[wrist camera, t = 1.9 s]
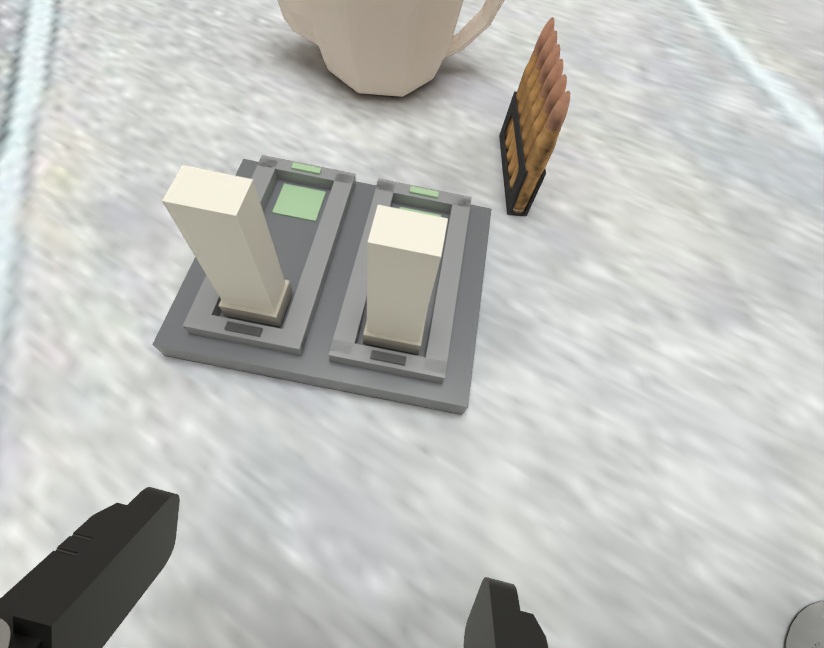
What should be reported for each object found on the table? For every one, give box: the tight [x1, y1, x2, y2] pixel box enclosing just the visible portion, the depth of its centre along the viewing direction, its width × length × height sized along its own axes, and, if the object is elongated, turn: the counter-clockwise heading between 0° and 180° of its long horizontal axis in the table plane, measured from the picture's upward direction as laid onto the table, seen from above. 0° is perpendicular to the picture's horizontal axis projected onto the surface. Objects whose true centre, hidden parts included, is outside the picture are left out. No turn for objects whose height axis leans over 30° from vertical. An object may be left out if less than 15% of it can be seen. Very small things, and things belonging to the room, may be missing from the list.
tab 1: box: [162, 165, 293, 327], centre depth 27 cm, size 4×3×12 cm
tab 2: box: [363, 205, 448, 354], centre depth 27 cm, size 4×3×12 cm
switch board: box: [153, 155, 491, 414], centre depth 34 cm, size 22×18×3 cm
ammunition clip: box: [499, 17, 570, 216], centre depth 38 cm, size 11×2×12 cm, turn 179°
